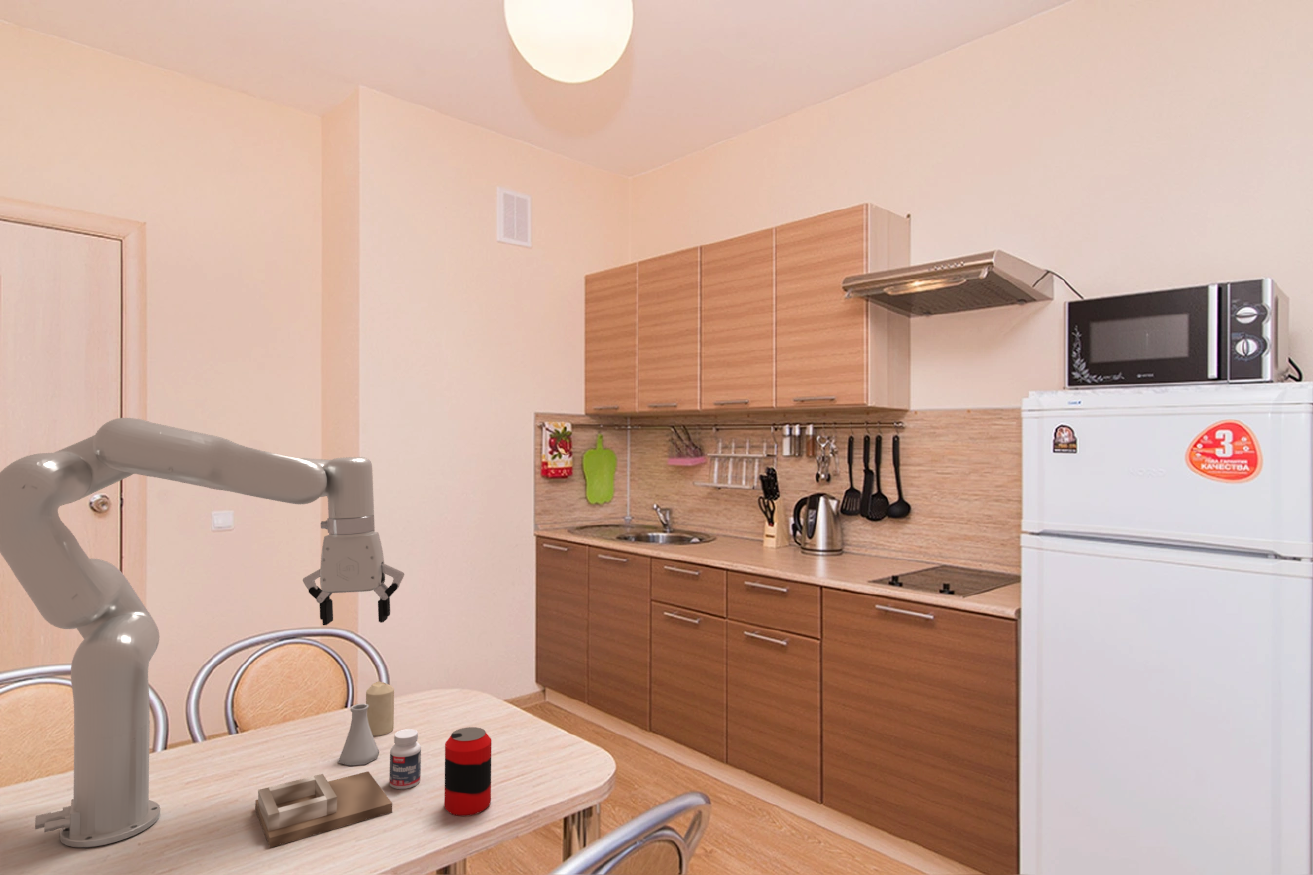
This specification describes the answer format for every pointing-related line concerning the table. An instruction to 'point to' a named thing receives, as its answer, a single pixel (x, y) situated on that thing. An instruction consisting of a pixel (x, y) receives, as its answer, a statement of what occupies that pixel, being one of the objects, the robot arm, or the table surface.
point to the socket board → (318, 806)
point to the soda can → (467, 771)
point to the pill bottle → (405, 760)
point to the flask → (359, 739)
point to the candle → (380, 708)
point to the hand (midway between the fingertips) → (355, 621)
